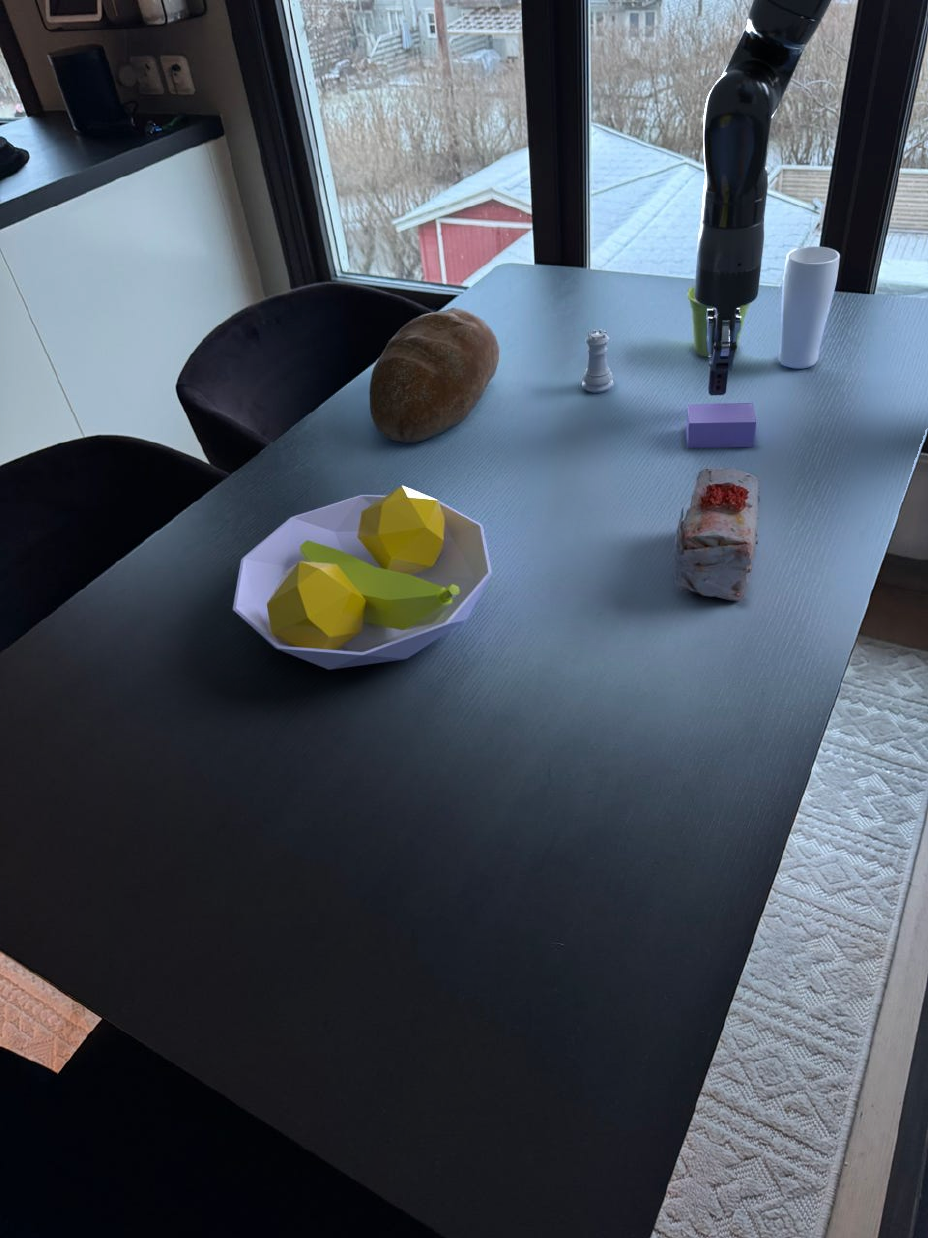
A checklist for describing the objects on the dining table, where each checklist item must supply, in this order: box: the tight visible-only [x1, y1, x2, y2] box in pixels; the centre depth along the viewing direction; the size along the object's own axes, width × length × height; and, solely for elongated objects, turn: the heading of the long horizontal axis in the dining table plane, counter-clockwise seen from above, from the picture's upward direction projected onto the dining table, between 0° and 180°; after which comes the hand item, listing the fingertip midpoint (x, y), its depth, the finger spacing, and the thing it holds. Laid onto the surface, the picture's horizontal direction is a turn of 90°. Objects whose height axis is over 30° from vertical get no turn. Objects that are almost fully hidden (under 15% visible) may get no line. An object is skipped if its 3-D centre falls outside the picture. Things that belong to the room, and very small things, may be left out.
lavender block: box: [685, 402, 757, 449], centre depth 112 cm, size 8×5×4 cm, turn 81°
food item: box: [673, 467, 761, 602], centre depth 90 cm, size 14×8×10 cm, turn 164°
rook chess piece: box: [581, 328, 614, 394], centre depth 124 cm, size 4×4×8 cm
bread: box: [369, 307, 500, 443], centre depth 126 cm, size 16×29×11 cm, turn 162°
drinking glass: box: [778, 245, 841, 370], centre depth 121 cm, size 7×7×15 cm
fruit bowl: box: [232, 485, 493, 671], centre depth 89 cm, size 28×27×11 cm
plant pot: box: [686, 284, 751, 358], centre depth 129 cm, size 9×9×9 cm
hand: (716, 392), depth 116 cm, fingers closed
